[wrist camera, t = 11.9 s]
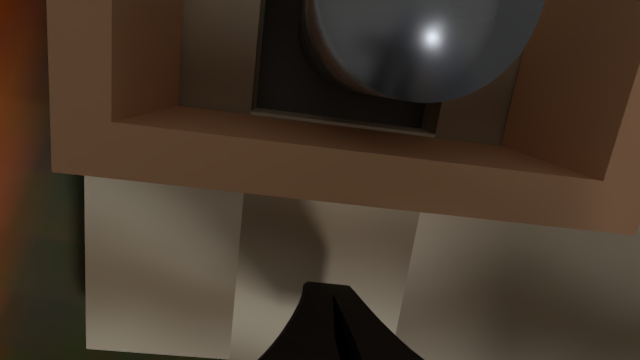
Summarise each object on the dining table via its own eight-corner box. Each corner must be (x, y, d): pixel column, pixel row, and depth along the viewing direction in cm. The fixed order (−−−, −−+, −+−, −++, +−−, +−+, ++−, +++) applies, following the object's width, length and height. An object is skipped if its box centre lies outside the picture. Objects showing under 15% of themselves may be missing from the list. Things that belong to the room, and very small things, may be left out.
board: (687, 366, 16) (729, 397, 14) (109, 318, 14) (86, 349, 13) (873, -92, 12) (958, -116, 10) (111, -237, 10) (78, -292, 9)
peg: (410, 96, 12) (523, 111, 7) (294, 87, 12) (307, 93, 6) (427, -30, 12) (572, -140, 6) (302, -45, 11) (325, -178, 5)
